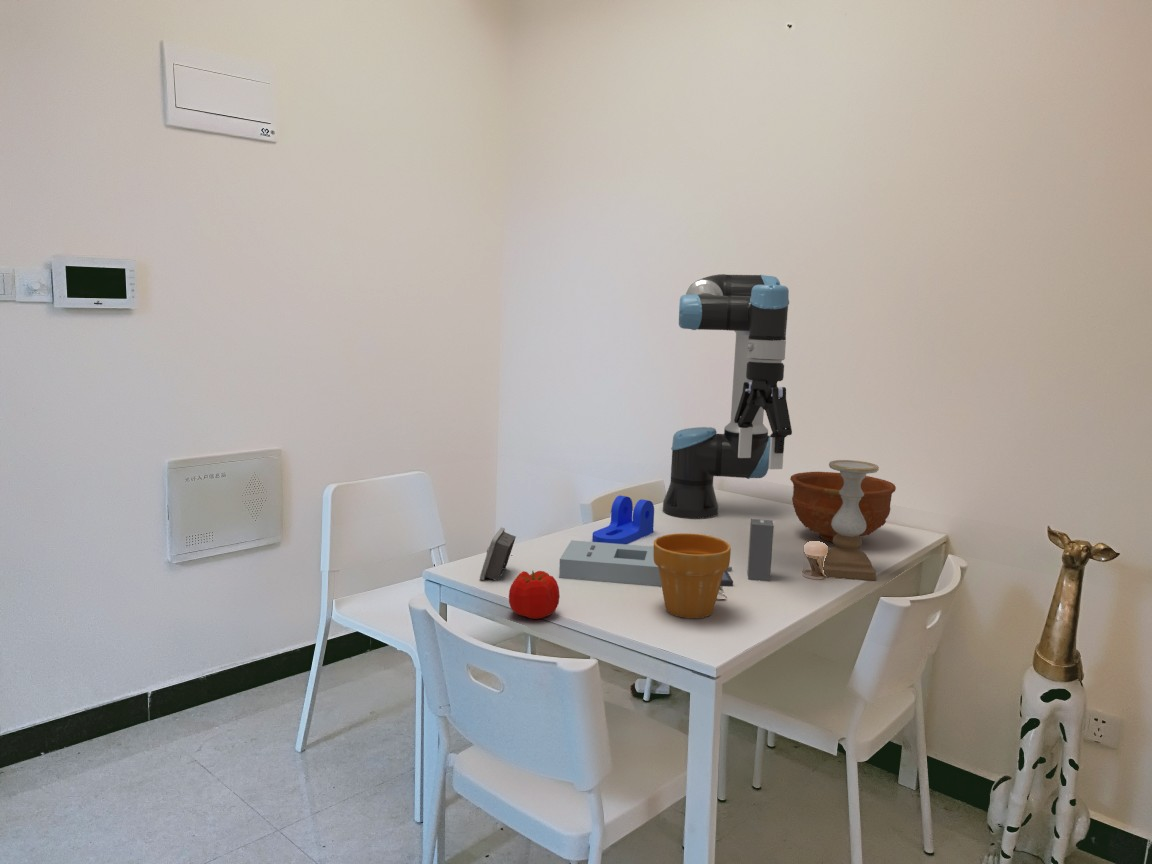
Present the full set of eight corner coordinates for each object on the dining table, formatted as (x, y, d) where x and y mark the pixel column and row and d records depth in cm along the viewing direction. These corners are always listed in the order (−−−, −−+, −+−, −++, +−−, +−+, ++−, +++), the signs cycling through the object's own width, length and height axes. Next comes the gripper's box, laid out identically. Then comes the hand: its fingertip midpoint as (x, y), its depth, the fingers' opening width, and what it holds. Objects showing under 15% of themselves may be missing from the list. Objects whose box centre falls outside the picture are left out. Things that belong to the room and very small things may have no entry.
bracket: (624, 527, 212) (626, 493, 211) (653, 533, 208) (654, 498, 206) (585, 543, 198) (586, 506, 196) (615, 549, 193) (616, 512, 191)
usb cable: (663, 562, 184) (663, 558, 184) (664, 561, 185) (664, 557, 185) (731, 571, 179) (731, 567, 179) (731, 570, 180) (732, 566, 180)
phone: (660, 573, 176) (661, 568, 176) (726, 574, 177) (726, 569, 177) (664, 584, 170) (664, 579, 169) (732, 586, 170) (733, 580, 170)
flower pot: (635, 608, 156) (638, 541, 154) (682, 591, 166) (685, 528, 164) (695, 631, 146) (699, 560, 144) (741, 611, 156) (746, 544, 154)
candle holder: (822, 577, 177) (831, 467, 173) (815, 561, 188) (823, 458, 184) (876, 581, 176) (886, 470, 172) (865, 565, 186) (874, 460, 183)
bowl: (782, 546, 199) (786, 485, 197) (790, 521, 222) (794, 466, 220) (892, 559, 191) (897, 496, 189) (888, 532, 215) (893, 475, 212)
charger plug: (747, 572, 178) (750, 517, 177) (768, 574, 178) (772, 519, 176) (748, 579, 174) (751, 523, 172) (769, 581, 173) (773, 524, 171)
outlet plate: (570, 557, 185) (571, 539, 185) (669, 565, 182) (670, 546, 181) (559, 577, 172) (559, 558, 171) (665, 586, 168) (666, 566, 168)
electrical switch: (488, 566, 178) (493, 525, 176) (512, 570, 177) (517, 529, 175) (478, 581, 168) (483, 537, 167) (503, 585, 168) (508, 541, 166)
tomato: (544, 602, 157) (545, 564, 156) (566, 619, 150) (567, 579, 149) (499, 610, 153) (499, 571, 152) (519, 627, 145) (520, 586, 144)
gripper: (722, 357, 181) (717, 453, 184) (779, 364, 157) (772, 474, 160) (753, 358, 183) (747, 453, 186) (814, 365, 159) (807, 473, 162)
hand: (759, 463), depth 173 cm, fingers open, 13 cm apart
